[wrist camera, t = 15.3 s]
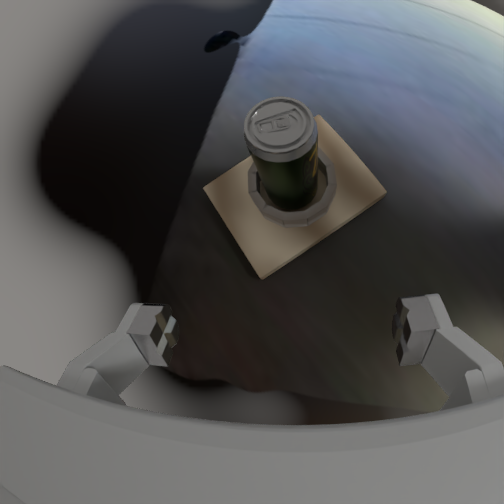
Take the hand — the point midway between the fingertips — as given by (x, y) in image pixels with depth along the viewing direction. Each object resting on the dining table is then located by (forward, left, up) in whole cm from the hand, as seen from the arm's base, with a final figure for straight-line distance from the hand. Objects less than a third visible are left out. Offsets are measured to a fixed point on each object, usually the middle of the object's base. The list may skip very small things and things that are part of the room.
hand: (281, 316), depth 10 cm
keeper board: (-6, -11, -20) cm, 24 cm away
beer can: (-6, -11, -19) cm, 23 cm away
